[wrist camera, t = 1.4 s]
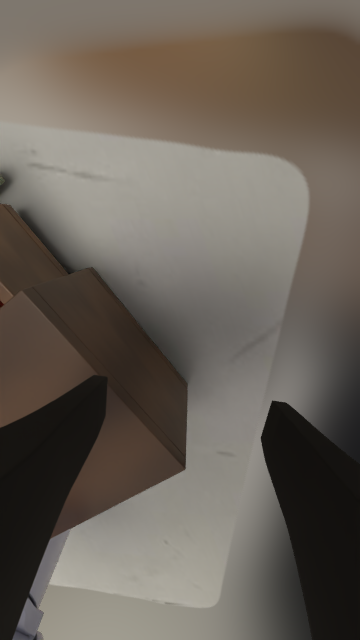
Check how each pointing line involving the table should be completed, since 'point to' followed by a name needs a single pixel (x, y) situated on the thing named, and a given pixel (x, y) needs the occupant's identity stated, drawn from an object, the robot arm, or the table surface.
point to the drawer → (22, 256)
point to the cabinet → (80, 364)
